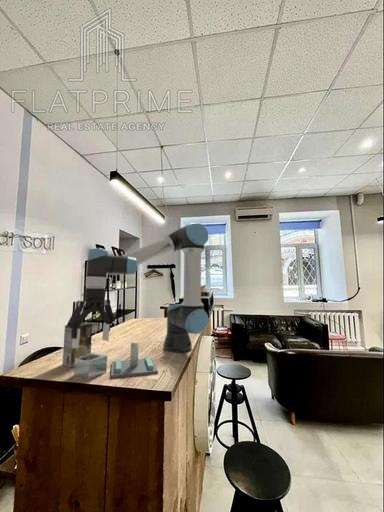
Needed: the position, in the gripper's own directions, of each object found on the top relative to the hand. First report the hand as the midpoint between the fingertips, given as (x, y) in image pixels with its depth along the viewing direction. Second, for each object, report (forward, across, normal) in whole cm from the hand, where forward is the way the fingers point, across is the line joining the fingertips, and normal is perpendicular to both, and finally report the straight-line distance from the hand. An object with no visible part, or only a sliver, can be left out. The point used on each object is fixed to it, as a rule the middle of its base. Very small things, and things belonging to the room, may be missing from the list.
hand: (91, 343), depth 88 cm
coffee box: (+11, -5, -15) cm, 19 cm away
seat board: (+11, -12, +11) cm, 20 cm away
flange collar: (+11, 0, 0) cm, 11 cm away
